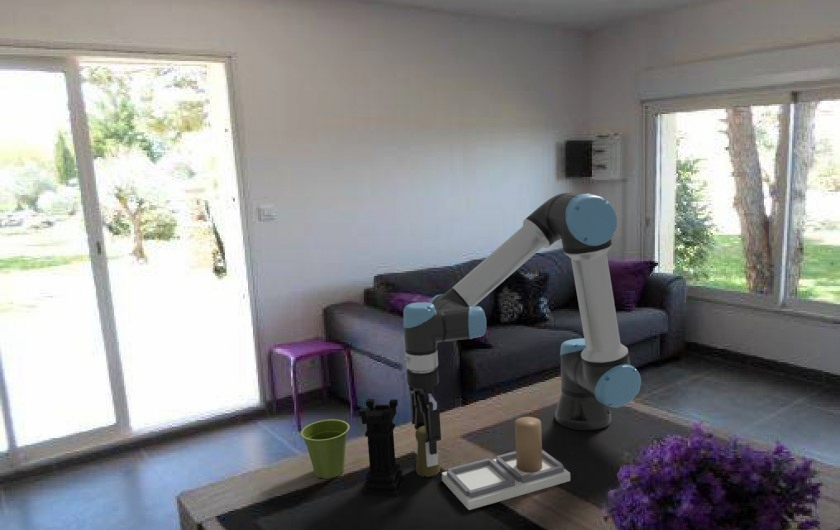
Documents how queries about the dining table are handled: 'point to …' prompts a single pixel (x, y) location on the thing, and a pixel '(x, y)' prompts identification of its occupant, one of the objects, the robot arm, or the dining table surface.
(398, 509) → the dining table surface
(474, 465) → the pin board
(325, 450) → the plant pot
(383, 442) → the chess piece
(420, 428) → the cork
